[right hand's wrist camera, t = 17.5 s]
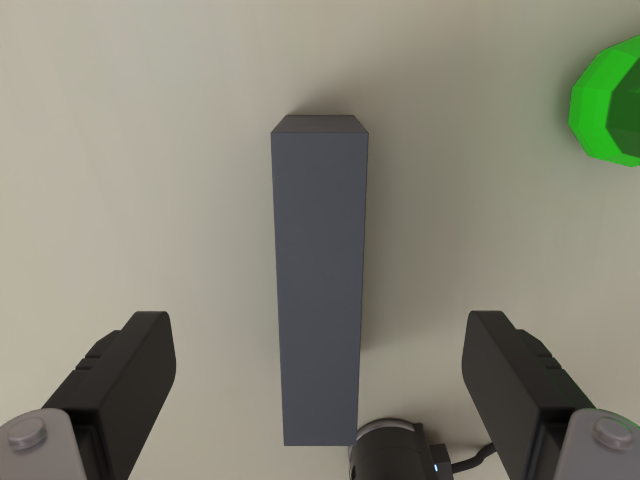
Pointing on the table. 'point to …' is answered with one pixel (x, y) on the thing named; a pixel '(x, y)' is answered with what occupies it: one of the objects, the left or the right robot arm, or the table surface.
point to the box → (319, 273)
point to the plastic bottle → (609, 105)
